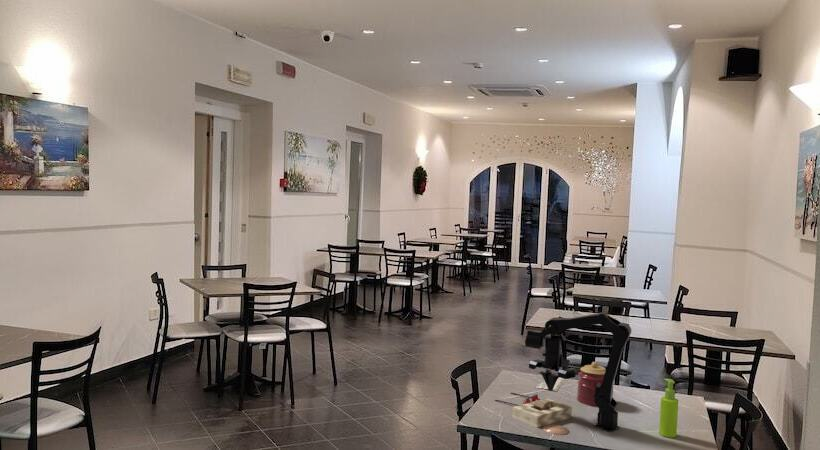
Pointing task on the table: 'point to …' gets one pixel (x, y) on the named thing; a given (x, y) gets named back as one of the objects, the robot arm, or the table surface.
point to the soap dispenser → (669, 412)
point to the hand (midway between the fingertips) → (550, 390)
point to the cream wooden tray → (542, 413)
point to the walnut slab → (540, 405)
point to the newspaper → (556, 387)
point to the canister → (589, 382)
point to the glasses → (524, 400)
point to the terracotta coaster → (555, 429)
